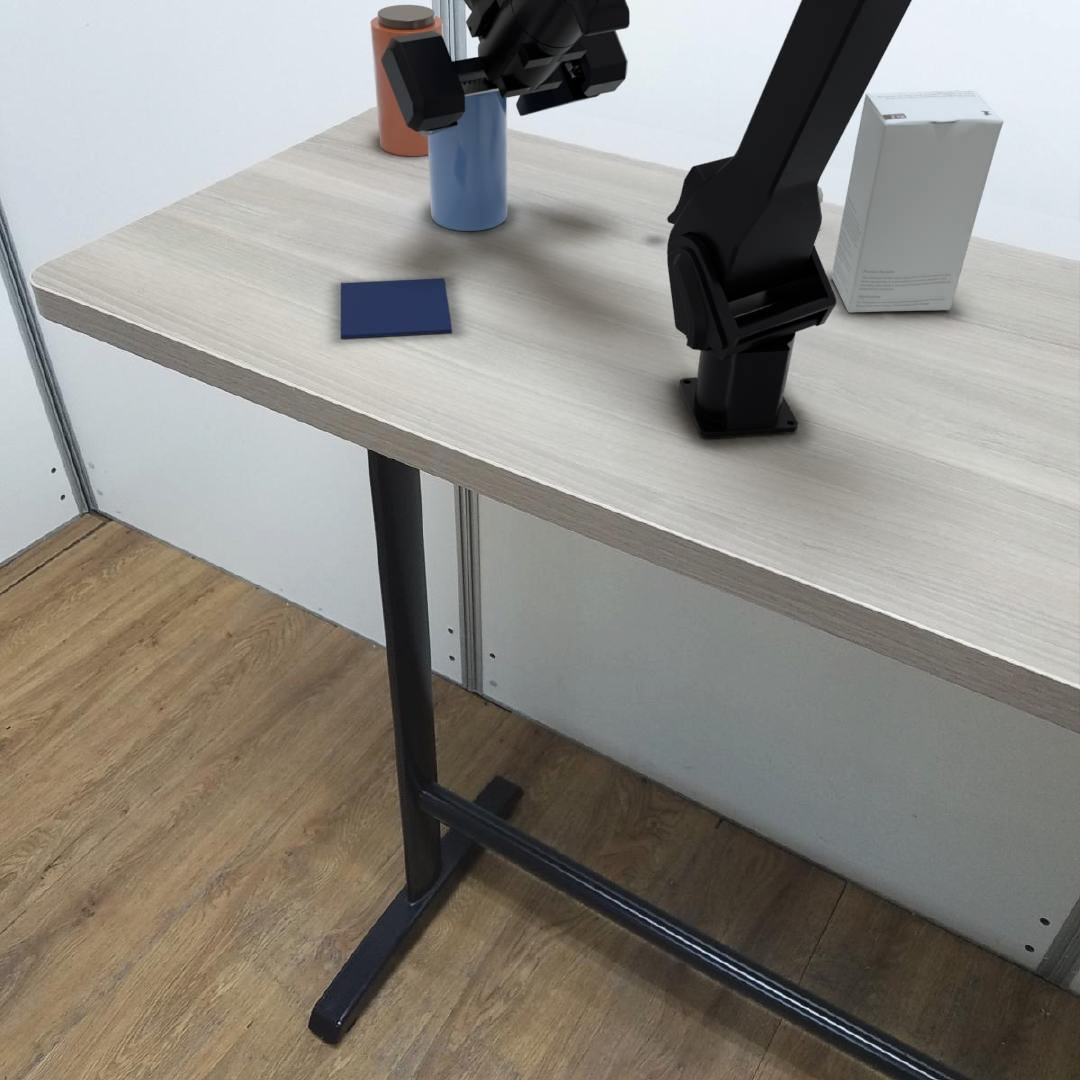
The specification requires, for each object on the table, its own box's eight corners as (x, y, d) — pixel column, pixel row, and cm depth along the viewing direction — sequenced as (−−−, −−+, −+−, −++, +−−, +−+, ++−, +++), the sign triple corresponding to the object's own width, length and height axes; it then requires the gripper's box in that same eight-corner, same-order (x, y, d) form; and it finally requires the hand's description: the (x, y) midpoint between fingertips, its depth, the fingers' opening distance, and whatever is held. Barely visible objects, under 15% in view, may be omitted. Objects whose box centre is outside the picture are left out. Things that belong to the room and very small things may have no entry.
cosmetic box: (927, 278, 87) (980, 87, 77) (952, 315, 82) (1011, 117, 72) (824, 278, 86) (864, 86, 77) (843, 316, 82) (887, 116, 72)
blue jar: (511, 229, 92) (511, 84, 84) (433, 233, 91) (426, 86, 83) (502, 197, 97) (502, 57, 89) (429, 200, 96) (421, 59, 88)
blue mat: (452, 332, 79) (451, 329, 79) (341, 338, 78) (340, 335, 78) (444, 281, 85) (444, 277, 85) (341, 286, 84) (340, 282, 84)
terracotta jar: (449, 155, 104) (444, 22, 96) (380, 157, 104) (370, 23, 96) (445, 130, 109) (439, 1, 101) (379, 132, 108) (369, 3, 101)
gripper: (616, -115, 78) (531, 11, 92) (382, -90, 70) (329, 44, 84) (673, 31, 78) (580, 134, 92) (446, 72, 70) (382, 178, 84)
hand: (471, 120), depth 88 cm, fingers open, 9 cm apart
